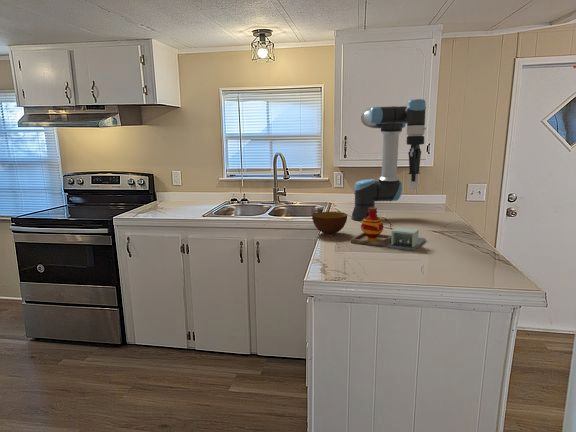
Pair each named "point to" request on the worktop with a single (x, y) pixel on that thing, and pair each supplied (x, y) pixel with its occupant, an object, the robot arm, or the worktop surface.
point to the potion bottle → (372, 225)
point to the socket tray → (380, 241)
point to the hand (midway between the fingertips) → (413, 188)
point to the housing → (405, 235)
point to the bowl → (329, 222)
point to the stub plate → (405, 247)
